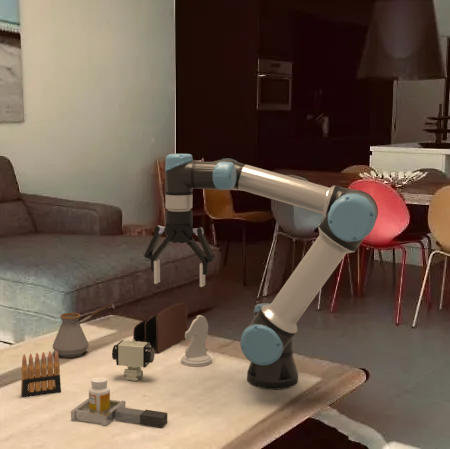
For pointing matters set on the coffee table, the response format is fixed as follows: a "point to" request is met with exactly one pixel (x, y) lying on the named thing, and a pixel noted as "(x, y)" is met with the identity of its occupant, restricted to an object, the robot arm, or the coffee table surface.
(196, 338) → the chess piece
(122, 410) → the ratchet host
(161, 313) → the letter holder
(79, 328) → the coffee pot
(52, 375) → the ammunition clip
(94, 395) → the supplement bottle
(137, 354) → the pneumatic valve
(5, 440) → the coffee table surface
